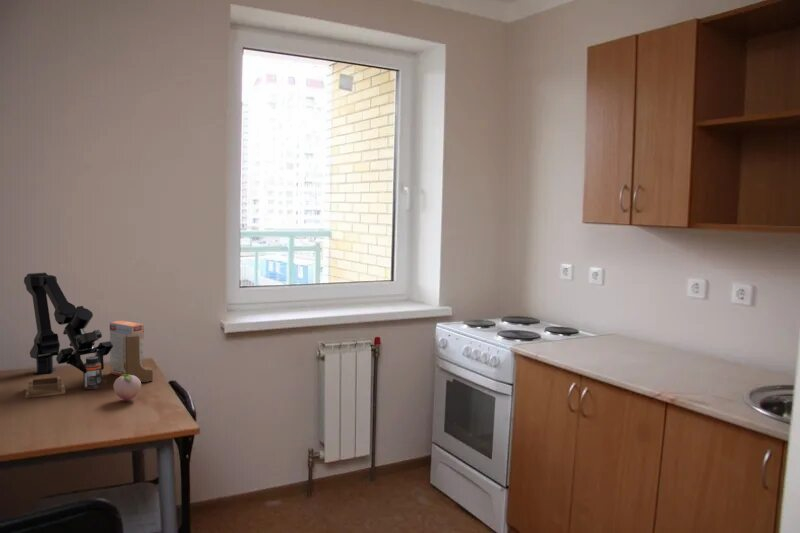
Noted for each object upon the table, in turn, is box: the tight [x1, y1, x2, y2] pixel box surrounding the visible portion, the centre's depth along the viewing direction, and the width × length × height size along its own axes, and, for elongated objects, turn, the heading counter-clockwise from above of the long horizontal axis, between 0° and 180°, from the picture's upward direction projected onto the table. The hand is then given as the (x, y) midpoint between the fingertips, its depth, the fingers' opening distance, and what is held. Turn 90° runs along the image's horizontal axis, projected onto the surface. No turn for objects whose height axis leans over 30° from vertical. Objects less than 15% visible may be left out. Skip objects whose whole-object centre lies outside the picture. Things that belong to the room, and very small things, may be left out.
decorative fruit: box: [113, 372, 142, 402], centre depth 209 cm, size 9×8×10 cm
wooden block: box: [126, 334, 154, 383], centre depth 232 cm, size 9×4×18 cm, turn 118°
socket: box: [25, 376, 66, 399], centre depth 218 cm, size 12×12×4 cm
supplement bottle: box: [82, 355, 103, 391], centre depth 223 cm, size 6×6×11 cm
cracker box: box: [109, 320, 145, 377], centre depth 240 cm, size 14×6×21 cm, turn 58°
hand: (94, 370), depth 222 cm, fingers closed on supplement bottle, 6 cm apart
